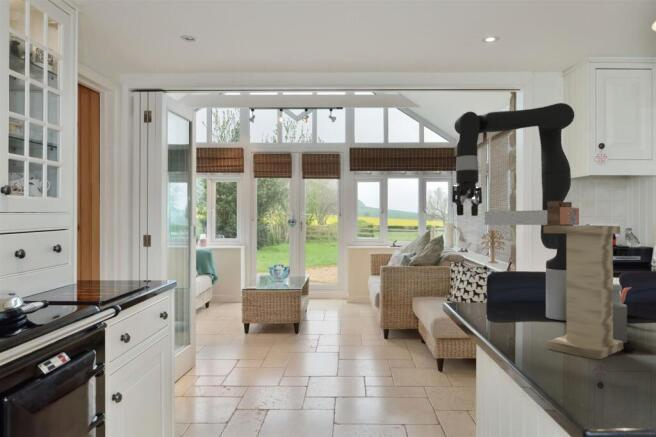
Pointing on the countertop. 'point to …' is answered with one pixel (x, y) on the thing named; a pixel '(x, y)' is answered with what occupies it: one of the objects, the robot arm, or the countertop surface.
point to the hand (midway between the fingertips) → (467, 215)
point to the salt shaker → (617, 293)
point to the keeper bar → (531, 217)
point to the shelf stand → (586, 287)
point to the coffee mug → (620, 322)
